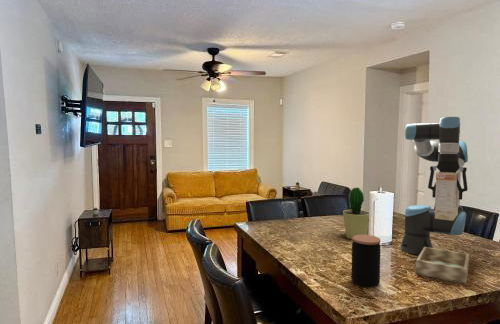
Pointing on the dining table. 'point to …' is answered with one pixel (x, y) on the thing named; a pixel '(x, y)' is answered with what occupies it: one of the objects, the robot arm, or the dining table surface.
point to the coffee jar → (366, 260)
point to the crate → (443, 264)
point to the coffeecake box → (446, 195)
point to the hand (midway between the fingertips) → (446, 206)
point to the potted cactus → (356, 215)
